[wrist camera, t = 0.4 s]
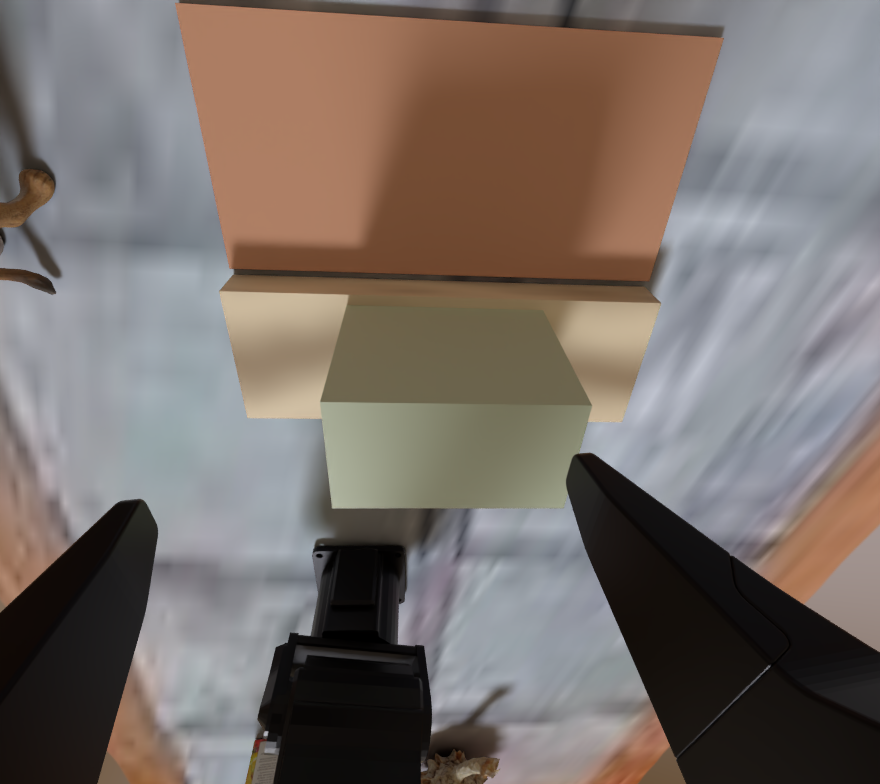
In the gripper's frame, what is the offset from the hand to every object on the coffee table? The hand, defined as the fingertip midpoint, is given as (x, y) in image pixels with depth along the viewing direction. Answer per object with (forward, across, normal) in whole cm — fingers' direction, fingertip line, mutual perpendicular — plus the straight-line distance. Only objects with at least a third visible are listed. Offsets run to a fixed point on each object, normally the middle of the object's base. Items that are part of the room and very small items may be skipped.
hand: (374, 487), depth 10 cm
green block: (+12, -4, +5) cm, 14 cm away
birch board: (+14, -4, +6) cm, 16 cm away
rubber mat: (+15, -4, -3) cm, 16 cm away
